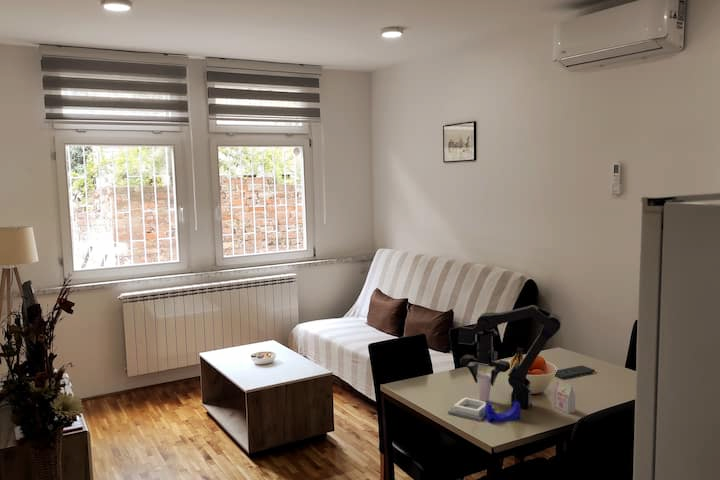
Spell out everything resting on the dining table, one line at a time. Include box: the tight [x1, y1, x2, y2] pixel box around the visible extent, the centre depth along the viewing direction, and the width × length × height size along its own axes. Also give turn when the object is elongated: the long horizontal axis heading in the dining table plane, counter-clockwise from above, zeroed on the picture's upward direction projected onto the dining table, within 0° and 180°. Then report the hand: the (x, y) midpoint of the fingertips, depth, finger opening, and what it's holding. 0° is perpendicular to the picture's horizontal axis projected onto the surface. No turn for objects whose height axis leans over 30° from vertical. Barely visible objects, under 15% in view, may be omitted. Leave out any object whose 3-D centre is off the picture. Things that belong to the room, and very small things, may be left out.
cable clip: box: [484, 401, 521, 423], centre depth 217 cm, size 12×4×6 cm, turn 92°
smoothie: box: [476, 365, 492, 402], centre depth 234 cm, size 6×6×14 cm
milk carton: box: [553, 381, 576, 414], centre depth 225 cm, size 4×7×10 cm, turn 26°
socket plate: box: [447, 396, 495, 422], centre depth 224 cm, size 13×13×3 cm
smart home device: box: [554, 365, 596, 380], centre depth 267 cm, size 8×2×20 cm
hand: (484, 384), depth 234 cm, fingers closed on smoothie, 6 cm apart
